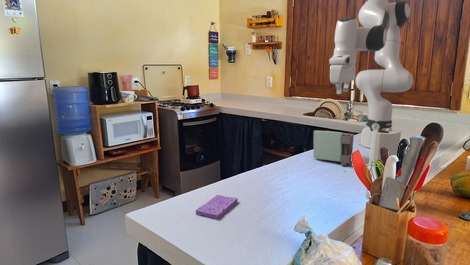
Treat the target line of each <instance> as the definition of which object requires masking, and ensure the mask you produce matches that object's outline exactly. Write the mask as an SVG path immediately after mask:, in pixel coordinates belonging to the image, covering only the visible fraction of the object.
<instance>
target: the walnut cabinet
mask: <svg viewBox="0 0 470 265" xmlns="http://www.w3.org/2000/svg"><path fill="white" fill-rule="evenodd" d="M328 131H329V132H334V131H331V130H328ZM342 133H343V135H346V136H348V137H349V136H350V135H353V138H354V136H355V134H354V133H347V132H342ZM353 146H354V142H353V143H351V144H343V150H342V154H343V153H344V155H346V156H348V155H349V154H352V155H353V149H354V148H353ZM330 161H332V160H330ZM332 162H333V161H332ZM335 162H337V163H340V166H342V167H347V168H349V167H351V162H350V163H343V162H340V161H335Z"/></svg>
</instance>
